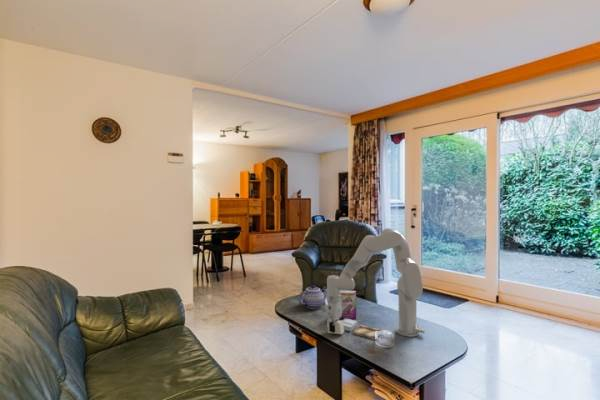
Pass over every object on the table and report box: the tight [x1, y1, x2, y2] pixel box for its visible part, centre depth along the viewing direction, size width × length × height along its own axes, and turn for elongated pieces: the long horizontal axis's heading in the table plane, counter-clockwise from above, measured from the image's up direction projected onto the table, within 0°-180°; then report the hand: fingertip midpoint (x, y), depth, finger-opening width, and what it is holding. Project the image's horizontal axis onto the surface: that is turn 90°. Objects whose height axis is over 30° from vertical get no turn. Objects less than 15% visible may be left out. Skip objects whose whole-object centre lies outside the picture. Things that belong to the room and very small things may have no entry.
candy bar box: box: [339, 290, 357, 320], centre depth 189 cm, size 11×5×16 cm, turn 84°
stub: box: [326, 319, 345, 335], centre depth 168 cm, size 8×4×6 cm, turn 56°
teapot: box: [297, 284, 327, 310], centre depth 208 cm, size 25×15×15 cm, turn 124°
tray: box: [352, 324, 383, 340], centre depth 167 cm, size 13×9×2 cm
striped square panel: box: [341, 318, 359, 332], centre depth 176 cm, size 8×10×2 cm
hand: (334, 329), depth 168 cm, fingers closed on stub, 3 cm apart
